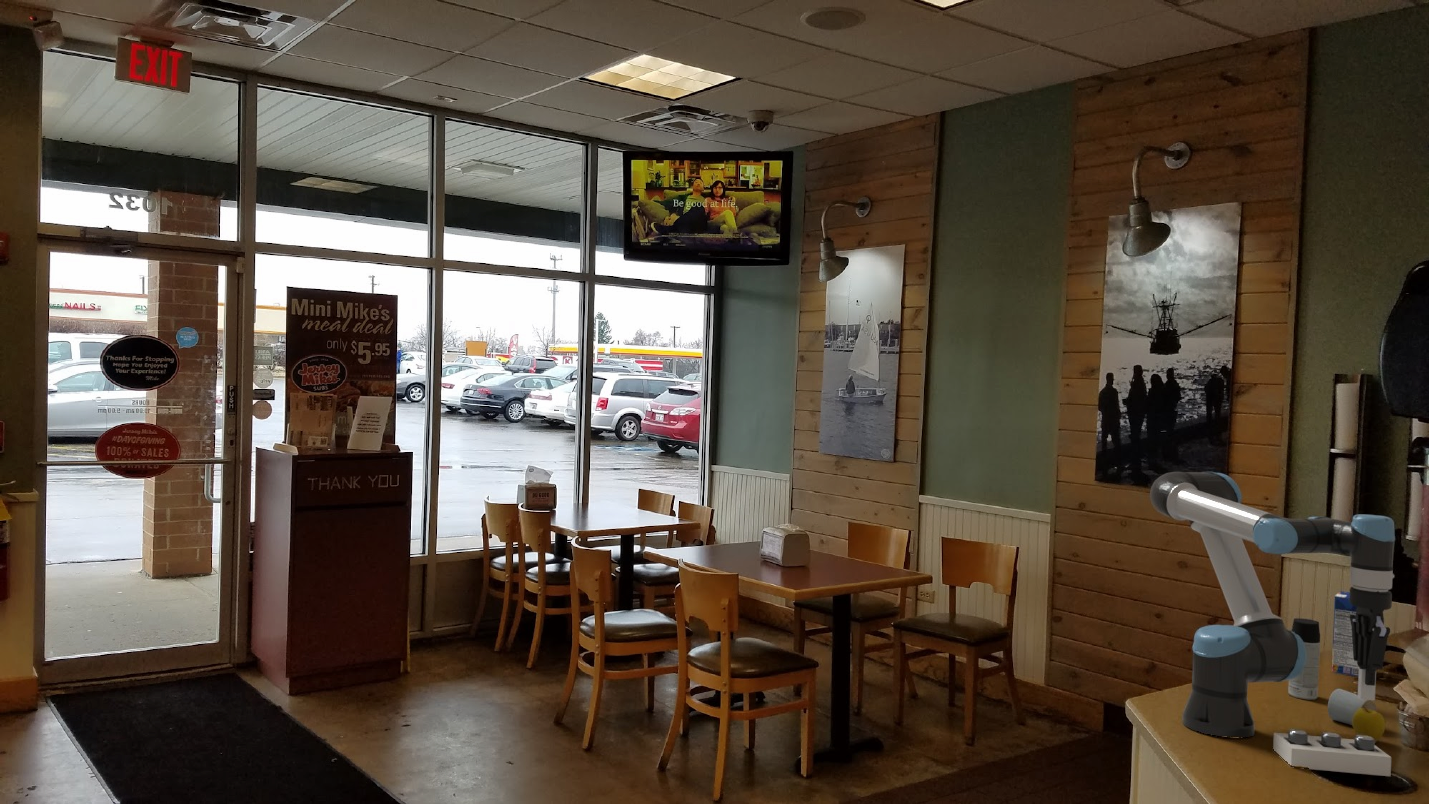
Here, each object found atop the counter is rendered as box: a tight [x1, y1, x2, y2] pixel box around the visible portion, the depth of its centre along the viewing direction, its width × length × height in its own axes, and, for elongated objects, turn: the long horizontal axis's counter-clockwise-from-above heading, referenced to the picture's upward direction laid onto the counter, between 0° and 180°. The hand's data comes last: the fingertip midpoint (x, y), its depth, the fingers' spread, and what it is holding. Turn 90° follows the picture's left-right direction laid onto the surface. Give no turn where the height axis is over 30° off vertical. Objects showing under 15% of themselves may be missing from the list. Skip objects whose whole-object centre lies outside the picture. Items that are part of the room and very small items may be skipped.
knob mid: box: [1320, 731, 1342, 749], centre depth 212 cm, size 4×4×4 cm
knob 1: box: [1287, 728, 1309, 746], centre depth 213 cm, size 4×4×4 cm
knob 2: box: [1353, 735, 1376, 752], centre depth 211 cm, size 4×4×4 cm
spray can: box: [1287, 617, 1321, 701], centre depth 261 cm, size 7×7×20 cm
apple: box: [1351, 705, 1386, 743], centre depth 227 cm, size 6×6×8 cm
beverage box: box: [1331, 590, 1359, 678], centre depth 288 cm, size 7×11×22 cm, turn 140°
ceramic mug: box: [1327, 688, 1378, 726], centre depth 240 cm, size 11×8×8 cm
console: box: [1272, 732, 1392, 777], centre depth 212 cm, size 19×10×4 cm, turn 80°
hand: (1366, 698), depth 211 cm, fingers closed
